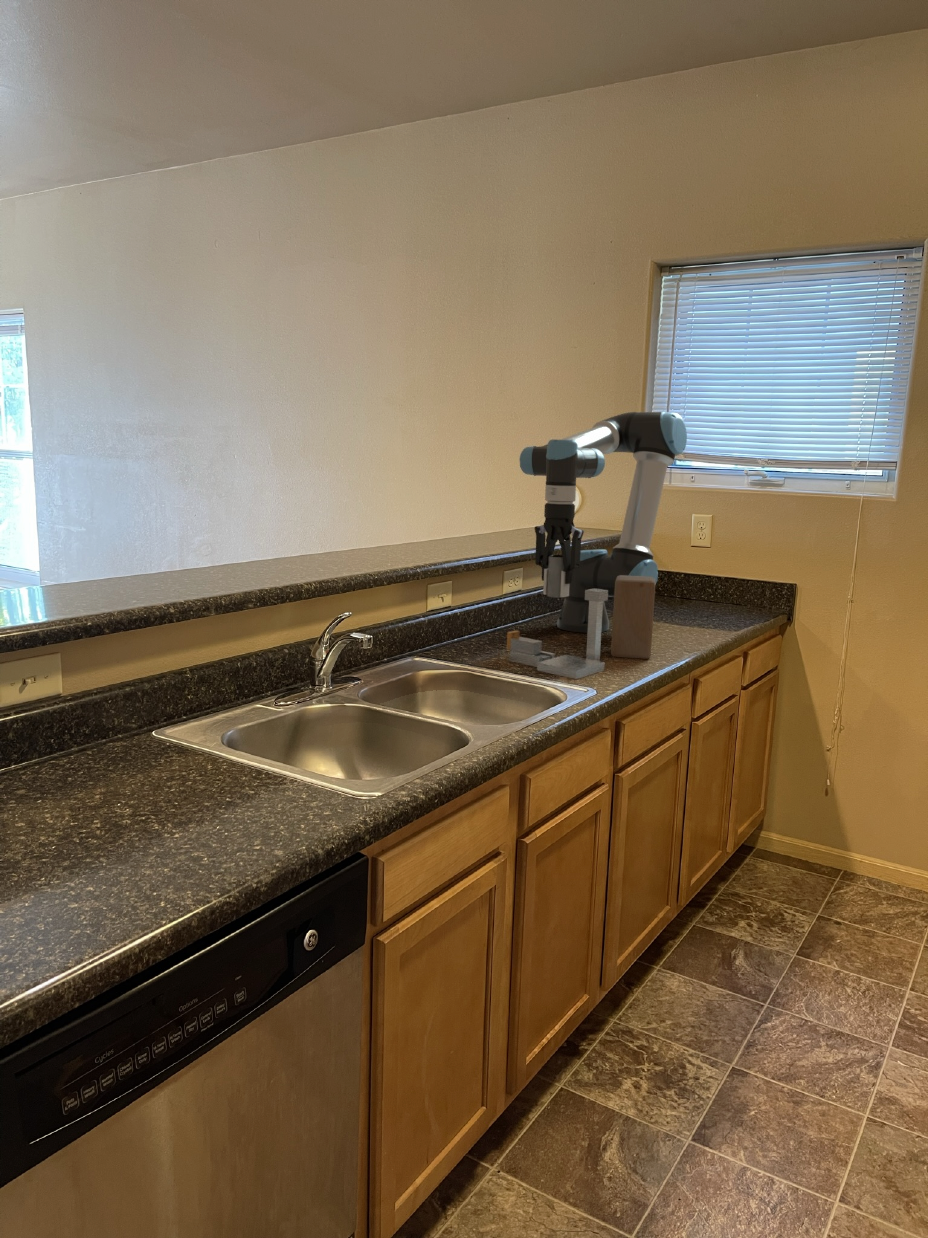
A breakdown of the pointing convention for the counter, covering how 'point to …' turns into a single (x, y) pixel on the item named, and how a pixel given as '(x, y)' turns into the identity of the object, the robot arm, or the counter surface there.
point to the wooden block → (633, 616)
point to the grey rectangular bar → (523, 644)
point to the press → (568, 663)
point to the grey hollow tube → (554, 575)
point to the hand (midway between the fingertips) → (556, 594)
